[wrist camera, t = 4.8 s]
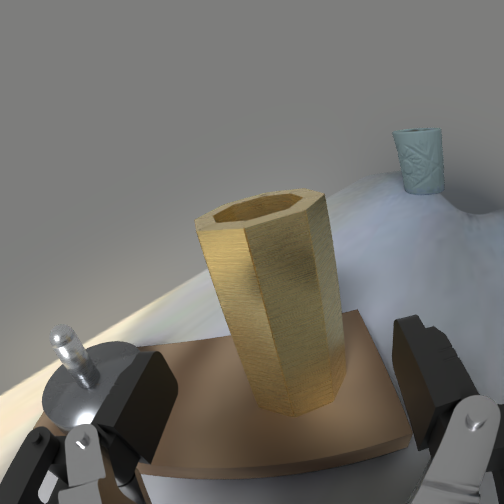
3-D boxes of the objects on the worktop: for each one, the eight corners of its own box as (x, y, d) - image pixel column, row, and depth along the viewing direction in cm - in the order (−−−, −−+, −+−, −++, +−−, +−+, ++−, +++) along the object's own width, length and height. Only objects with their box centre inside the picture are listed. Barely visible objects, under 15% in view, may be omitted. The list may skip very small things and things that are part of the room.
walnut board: (358, 325, 20) (353, 266, 19) (407, 446, 10) (426, 387, 8) (91, 363, 23) (66, 320, 21) (40, 448, 13) (-2, 403, 11)
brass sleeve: (320, 338, 18) (292, 185, 15) (359, 389, 13) (343, 199, 10) (244, 366, 17) (193, 213, 14) (266, 427, 13) (198, 242, 9)
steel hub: (155, 345, 22) (125, 280, 20) (150, 432, 13) (95, 355, 11) (69, 366, 21) (36, 309, 18) (41, 441, 12) (-13, 377, 10)
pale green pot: (445, 183, 50) (438, 127, 46) (451, 195, 42) (444, 128, 38) (401, 185, 55) (393, 130, 51) (400, 197, 48) (390, 132, 44)
